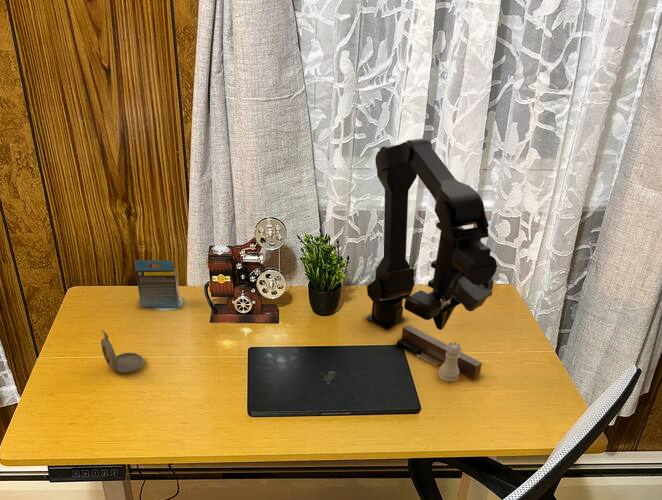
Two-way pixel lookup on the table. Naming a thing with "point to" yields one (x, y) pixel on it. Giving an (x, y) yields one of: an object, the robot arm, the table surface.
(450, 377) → the rook chess piece
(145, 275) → the blue product box
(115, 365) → the pocket watch
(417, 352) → the letter opener
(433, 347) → the walnut rail
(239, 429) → the table surface
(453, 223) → the robot arm
